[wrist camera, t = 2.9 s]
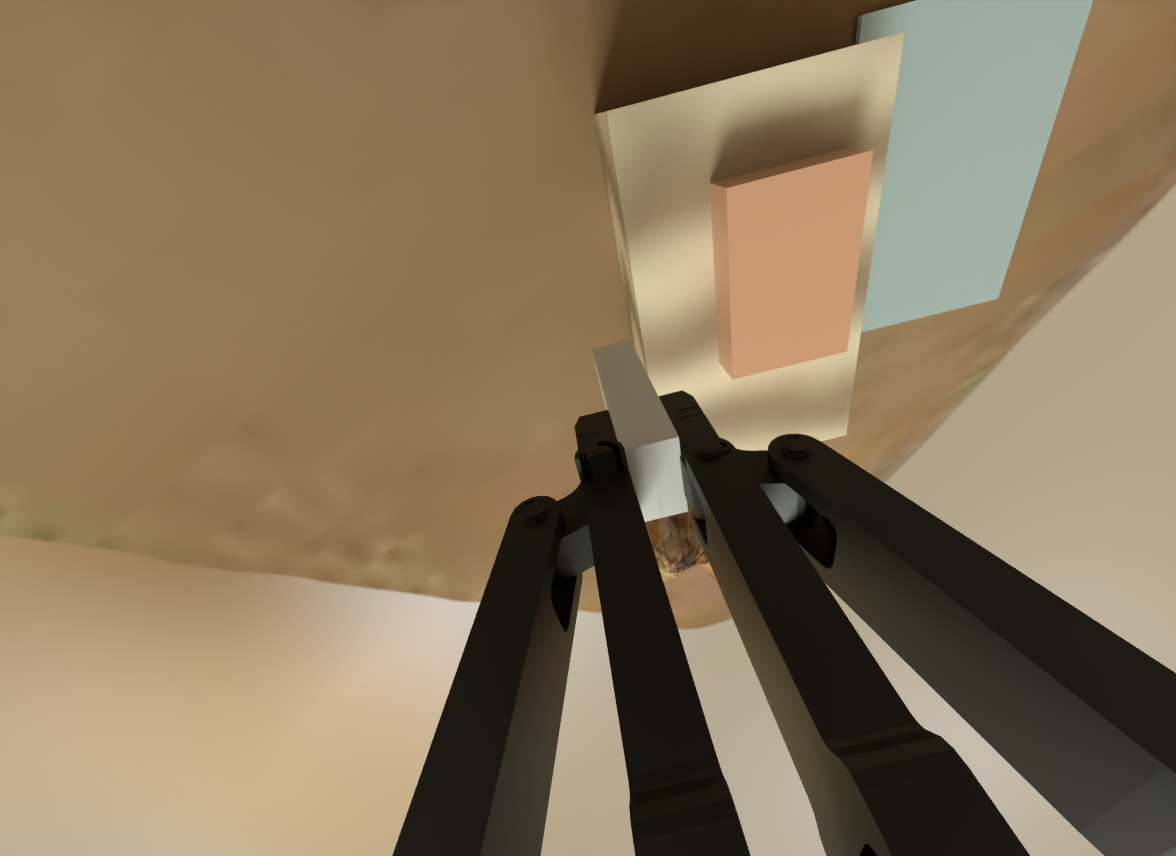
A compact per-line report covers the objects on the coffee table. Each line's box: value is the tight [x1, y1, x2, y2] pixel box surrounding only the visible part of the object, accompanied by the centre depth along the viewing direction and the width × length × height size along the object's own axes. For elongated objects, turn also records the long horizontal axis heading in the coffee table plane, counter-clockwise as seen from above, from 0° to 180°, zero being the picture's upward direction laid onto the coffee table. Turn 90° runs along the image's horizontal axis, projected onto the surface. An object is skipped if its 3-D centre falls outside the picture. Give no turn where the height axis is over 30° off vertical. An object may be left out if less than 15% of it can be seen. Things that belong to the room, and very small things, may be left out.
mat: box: [855, 0, 1093, 332], centre depth 24 cm, size 16×11×1 cm
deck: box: [594, 32, 905, 451], centre depth 25 cm, size 20×12×4 cm, turn 12°
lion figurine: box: [645, 502, 720, 588], centre depth 33 cm, size 15×5×9 cm, turn 53°
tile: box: [710, 148, 873, 379], centre depth 21 cm, size 9×6×2 cm, turn 12°
